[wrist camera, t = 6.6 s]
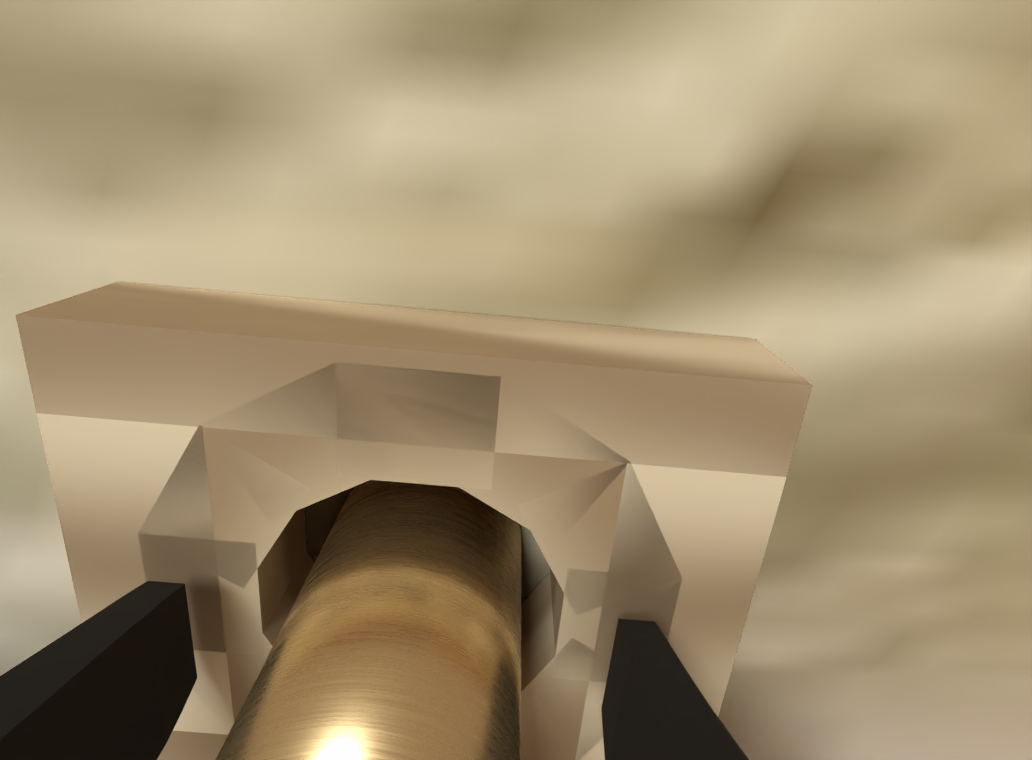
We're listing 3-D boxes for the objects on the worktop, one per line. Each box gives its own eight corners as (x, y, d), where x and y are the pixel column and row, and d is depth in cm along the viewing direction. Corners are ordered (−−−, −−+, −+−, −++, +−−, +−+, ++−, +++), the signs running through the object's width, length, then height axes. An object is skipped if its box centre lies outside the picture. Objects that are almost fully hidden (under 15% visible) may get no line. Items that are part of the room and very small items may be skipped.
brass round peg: (513, 618, 14) (506, 1033, 7) (340, 606, 14) (176, 1015, 7) (529, 466, 13) (537, 812, 6) (335, 451, 12) (129, 785, 6)
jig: (663, 723, 15) (687, 823, 13) (177, 685, 15) (115, 781, 13) (756, 339, 11) (812, 385, 9) (117, 281, 11) (16, 315, 9)
